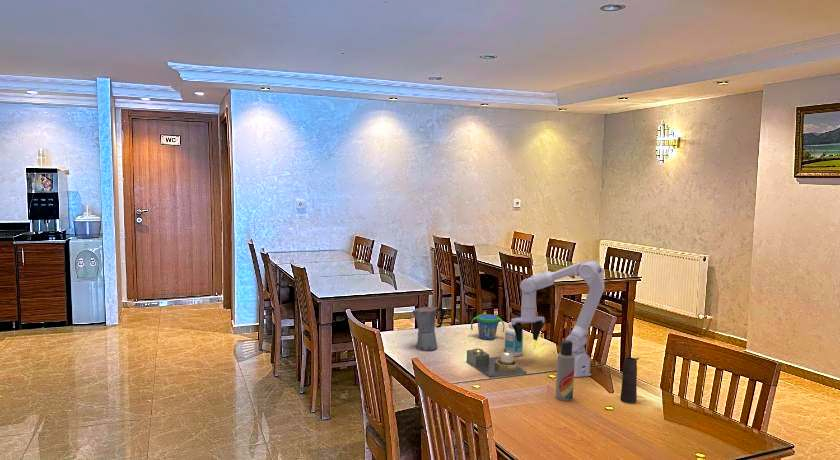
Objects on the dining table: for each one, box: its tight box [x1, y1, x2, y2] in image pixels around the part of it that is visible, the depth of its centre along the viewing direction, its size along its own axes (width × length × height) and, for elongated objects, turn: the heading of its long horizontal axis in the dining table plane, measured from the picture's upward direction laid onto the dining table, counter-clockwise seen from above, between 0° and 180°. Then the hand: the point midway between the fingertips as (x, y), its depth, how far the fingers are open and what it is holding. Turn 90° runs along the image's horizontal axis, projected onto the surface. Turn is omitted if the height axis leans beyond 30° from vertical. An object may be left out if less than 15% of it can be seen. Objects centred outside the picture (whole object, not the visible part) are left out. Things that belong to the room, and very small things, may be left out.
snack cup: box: [470, 313, 505, 341], centre depth 276 cm, size 16×10×10 cm
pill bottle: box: [504, 321, 524, 357], centre depth 252 cm, size 8×7×14 cm
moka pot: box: [411, 302, 446, 352], centre depth 257 cm, size 10×15×20 cm, turn 115°
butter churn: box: [620, 319, 640, 404], centre depth 201 cm, size 9×10×28 cm
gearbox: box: [466, 348, 528, 379], centre depth 233 cm, size 20×16×6 cm
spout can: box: [499, 347, 514, 365], centre depth 231 cm, size 5×5×7 cm
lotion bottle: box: [555, 339, 575, 402], centre depth 202 cm, size 6×6×20 cm
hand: (527, 340), depth 240 cm, fingers open, 7 cm apart
